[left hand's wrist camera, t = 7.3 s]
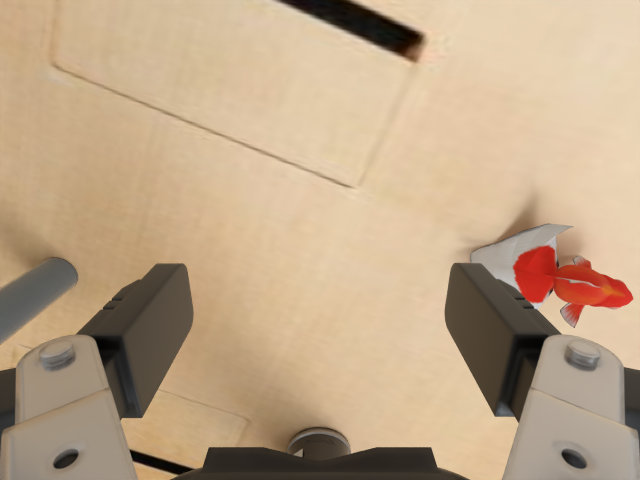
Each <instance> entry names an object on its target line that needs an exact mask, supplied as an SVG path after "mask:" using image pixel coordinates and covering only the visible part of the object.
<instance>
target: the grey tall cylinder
mask: <svg viewBox="0 0 640 480" xmlns="http://www.w3.org/2000/svg"><path fill="white" fill-rule="evenodd" d="M77 280H78V275H77V272H76V270H75V268H74V267H73V266H72V265H71V264H70V263H69V262H67V261H65V260H63V259H60V258H48V259H46V260H44V261H43V262H41V263H40V264H38V265H36V266H35V267H33V268H31V269H30V270H28V271H27V272H25V273H23V274H22V275H20V276H19V277H17V278H15V279H14V280H12V281H10V282H9V283H7V284H6V285H4V286H2V287H1V288H0V345H1V344H3V343H4V342H5V341H6V340H8V339H9V338H10V337H11V336H13V335H14V334H15V333H16V332H18V331H19V330H20V329H22V328H23V327H24V326H25V325H27V324H28V323H29V322H30V321H32V320H33V319H34V318H35V317H37V316H38V315H39V314H40V313H42V312H43V311H44V310H45V309H47V308H48V307H49V306H50V305H52V304H53V303H54V302H55V301H57V300H58V299H59V298H60V297H62V296H63V295H64V294H65V293H67V292H68V291H69V290H70V289H72V288H73V287H74V286H75V285H76V283H77Z"/></svg>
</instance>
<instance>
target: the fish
mask: <svg viewBox="0 0 640 480" xmlns="http://www.w3.org/2000/svg"><path fill="white" fill-rule="evenodd" d="M571 227H574V226H564V225H555V224H545V225H541V226H538V227H534V228H531V229H527V230H524V231H521V232H519V233H517V234H515V235H513V236H510V237H508V238H506V239H504V240H502V241H500V242H497V243H495V244H492V245H488V246H485V247H482V248H479V249H477V250H475V251H473V252H472V253H471V254H470V262H471V263H481V264H482V265H483V266H484V267H485V268H486V269H487V270H488V271H489V272H490V273H491V274H492V275H493V276H494V277H495V278H496V279H500V280H502V281H504V282H506V283H508V284H509V285H511V286H513V287H515V288H516V289H517V290H518V291H519V292H520V293H521V294H522V295H523V296H524V297H525V299H526V300H528V301H529V302H530V303H531V304H532V305H533V306H534V309H537V310H538V309H539V307H540V306H541V305H542V304H543V303H544V301H545V300H546V299H547V298H548V296H549V295H550V294H551V293H552V291H553V288H554V291H555V293H556V295H557V296H558V297H559V298H560V299H562V300H563V301H566V302H568V304H566V305H565V306H564V307H563V308H562V309H561V310H560V312H561V315H562V316H563V318H564V320H565V321H566V322H567V323H568V324H570V325H571V326H572V327H574V328H575V325H576V324H577V322H578V319H579V316H580V314H581V312H582V309H583V308H584V306H585V305H590V306H594V307H607V308H610V309H618V308H620V307H622V306H624V305H627V304H629V303H630V302H631V301H632V300H633V296H632V294H631V292H630V291H629V290H628V288H627V287H626V285H625V284H624V282H622V281H621V280H616V279H612V278H610V277H609V276H606V275H603V274H599V273H598V272H596V271H594V270H592V269H591V263H590V261H588V260H586V259H585V258H583V257H582V256H577V257H575V258H574V259H573V262H574V263H575V265H566V266H563V267H561V268H560V269H558V267H559V263H558V258H557V253H556V236H557V235H558V234H559V233H561V232H563V231H565V230H566V229H568V228H571Z"/></svg>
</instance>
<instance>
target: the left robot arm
mask: <svg viewBox="0 0 640 480" xmlns="http://www.w3.org/2000/svg"><path fill="white" fill-rule="evenodd" d="M445 321H446V326H447V328H448V330H449V332H450V334H451V336H452V338H453V340H454V342H455V343H456V345H457V347H458V349H459V351H460V353H461V354H462V356H463V358H464V360H465V362H466V364H467V366H468V367H469V369H470V371H471V373H472V375H473V377H474V378H475V380H476V382H477V384H478V386H479V388H480V390H481V391H482V393H483V395H484V397H485V399H486V401H487V403H488V404H489V406H490V408H491V410H492V412H493V414H494V415H495V417H515V418H516V419H517V421H518V423H519V425H518V428H517V431H516V435H515V438H514V441H513V445H512V448H511V451H510V455H509V458H508V461H507V465H506V468H505V471H504V474H503V478H502V480H640V370H635V369H630V368H625V367H623V364H622V362H621V361H620V360H619V358H618V357H617V356H616V355H615V354H613V353H612V352H611V351H609V350H608V349H606V348H605V347H603V346H601V345H599V344H597V343H595V342H593V341H590V340H587V339H584V338H581V337H577V336H572V335H562V334H561V333H560V332H559V331H558V330H557V329H556V328H555V327H554V326H553V325H552V324H551V323H550V322H549V321H548V320H547V319H546V318H545V317H544V316H543V315H542V314H541V313H540V312H539V311H538V310H537V309H534V306H533V305H532V304H531V303H530V302H529V301H528V300H526V299H525V297H524V296H523V295H522V294H521V293H520V292H519V291H518V290H517V289H516V288H515V287H513V286H511V285H509V284H508V283H506V282H504V281H502V280H500V279H496V278H495V277H494V276H493V275H492V274H491V273H490V272H489V271H488V270H487V269H486V268H485V267H484V266H483V265H482V264H481V263H454V264H453V265H452V268H451V271H450V278H449V284H448V291H447V298H446V304H445ZM192 322H193V305H192V298H191V291H190V285H189V278H188V272H187V268H186V266H185V265H184V264H156V265H155V266H154V267H153V268H152V269H151V270H150V271H149V272H148V273H147V274H146V275H145V276H144V277H143V278H142V279H141V280H137V281H135V282H133V283H131V284H129V285H128V286H126V287H124V288H122V289H121V290H120V291H119V292H118V293H117V294H116V295H115V296H114V297H113V298H112V301H109V302H108V303H107V304H106V305H105V306H104V307H103V310H100V311H99V312H98V313H97V314H96V315H95V316H94V317H93V318H92V319H91V320H90V321H89V322H88V323H87V324H86V325H85V326H84V327H83V328H82V329H81V330H80V331H79V332H78V333H77V334H76V335H68V336H63V337H59V338H56V339H53V340H50V341H47V342H45V343H43V344H41V345H39V346H37V347H35V348H34V349H32V350H31V351H29V352H28V353H27V354H25V355H24V356H23V357H22V358H21V360H20V361H19V362H18V364H17V367H16V368H13V369H8V370H3V371H0V480H138V478H137V474H136V471H135V468H134V465H133V461H132V458H131V455H130V451H129V448H128V445H127V441H126V438H125V435H124V432H123V428H122V425H121V422H120V420H121V419H122V418H142V417H143V415H144V413H145V412H146V410H147V408H148V406H149V404H150V402H151V401H152V399H153V397H154V395H155V393H156V391H157V390H158V388H159V386H160V384H161V382H162V381H163V379H164V377H165V375H166V373H167V371H168V370H169V368H170V366H171V364H172V362H173V360H174V359H175V357H176V355H177V353H178V351H179V349H180V348H181V346H182V344H183V342H184V340H185V338H186V337H187V335H188V333H189V331H190V329H191V326H192ZM171 480H469V479H467V478H465V477H463V476H461V475H459V474H456V473H454V472H451V471H448V470H445V469H442V468H438V467H437V465H436V462H435V458H434V455H433V452H432V449H431V447H376V448H372V449H368V450H364V451H360V452H356V453H352V454H351V451H350V445H349V443H348V441H347V440H346V439H345V438H344V437H343V436H342V435H341V434H339V433H337V432H335V431H333V430H329V429H324V428H314V429H308V430H305V431H302V432H300V433H298V434H297V435H295V436H294V437H293V438H292V439H291V441H290V442H289V444H288V448H287V453H284V452H280V451H276V450H272V449H268V448H264V447H209V449H208V452H207V455H206V458H205V462H204V465H203V467H202V468H198V469H195V470H192V471H189V472H186V473H184V474H181V475H179V476H177V477H175V478H173V479H171Z"/></svg>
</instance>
